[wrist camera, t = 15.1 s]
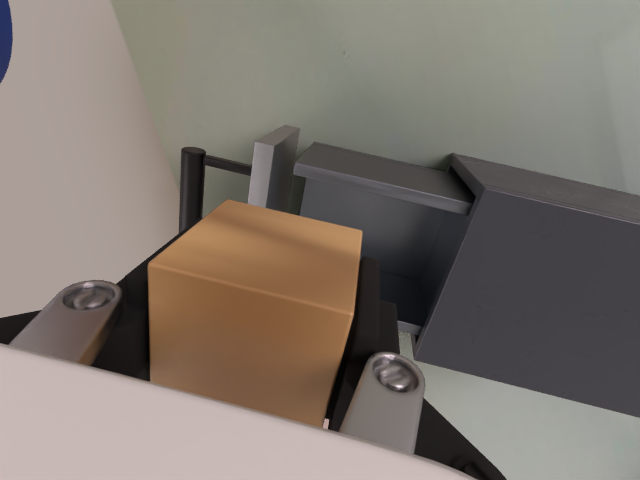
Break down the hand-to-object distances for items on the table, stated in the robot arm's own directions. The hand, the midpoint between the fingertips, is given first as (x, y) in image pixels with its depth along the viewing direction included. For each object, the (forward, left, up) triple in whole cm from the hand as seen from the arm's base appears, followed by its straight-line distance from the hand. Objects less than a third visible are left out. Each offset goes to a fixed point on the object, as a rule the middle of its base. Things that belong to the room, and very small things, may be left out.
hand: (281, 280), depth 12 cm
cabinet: (+10, -13, -20) cm, 26 cm away
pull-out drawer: (-3, -3, -19) cm, 19 cm away
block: (0, 0, 0) cm, 0 cm away
